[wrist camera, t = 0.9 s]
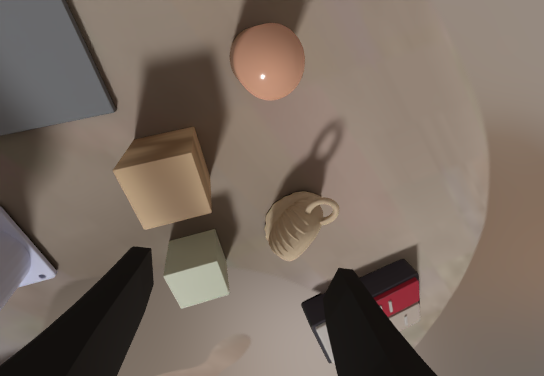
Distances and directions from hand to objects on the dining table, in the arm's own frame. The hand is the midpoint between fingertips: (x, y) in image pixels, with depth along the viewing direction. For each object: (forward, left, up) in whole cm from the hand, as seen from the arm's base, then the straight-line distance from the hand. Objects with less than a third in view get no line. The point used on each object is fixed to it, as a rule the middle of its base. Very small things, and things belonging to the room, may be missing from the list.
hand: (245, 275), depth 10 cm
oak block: (-4, 0, -13) cm, 14 cm away
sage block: (-5, -10, -13) cm, 17 cm away
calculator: (+13, -27, -14) cm, 33 cm away
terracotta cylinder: (+4, +6, -13) cm, 15 cm away
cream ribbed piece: (+5, -8, -14) cm, 17 cm away
